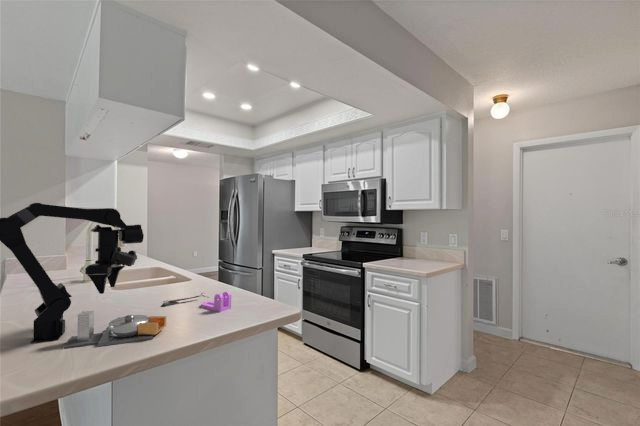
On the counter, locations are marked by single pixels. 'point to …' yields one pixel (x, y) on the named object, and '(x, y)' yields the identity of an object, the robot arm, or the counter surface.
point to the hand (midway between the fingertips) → (107, 290)
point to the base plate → (121, 338)
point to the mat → (74, 343)
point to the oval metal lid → (136, 325)
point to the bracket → (219, 302)
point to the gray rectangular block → (85, 326)
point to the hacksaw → (179, 300)
